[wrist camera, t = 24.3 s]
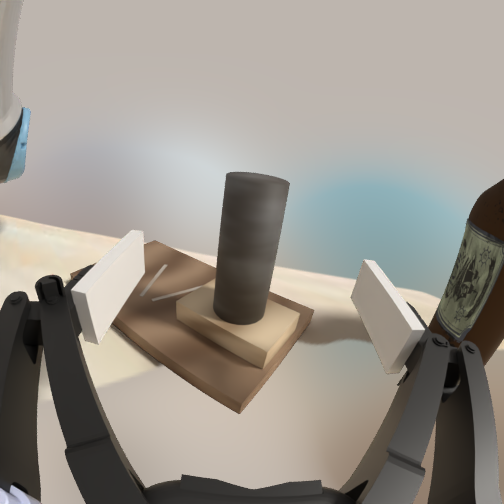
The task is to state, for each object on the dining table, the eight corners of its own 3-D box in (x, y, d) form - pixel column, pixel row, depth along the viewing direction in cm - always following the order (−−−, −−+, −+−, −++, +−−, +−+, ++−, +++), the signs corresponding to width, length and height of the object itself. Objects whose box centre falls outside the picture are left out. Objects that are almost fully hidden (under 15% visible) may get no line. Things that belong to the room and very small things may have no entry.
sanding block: (176, 318, 23) (180, 169, 18) (217, 292, 28) (231, 165, 23) (262, 369, 20) (302, 200, 14) (295, 330, 24) (331, 190, 19)
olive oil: (462, 328, 28) (522, 155, 18) (493, 381, 19) (581, 174, 8) (406, 324, 29) (469, 121, 19) (435, 388, 19) (538, 127, 9)
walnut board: (72, 284, 27) (70, 273, 26) (155, 249, 38) (155, 240, 38) (239, 414, 17) (241, 403, 16) (310, 321, 28) (314, 309, 28)
